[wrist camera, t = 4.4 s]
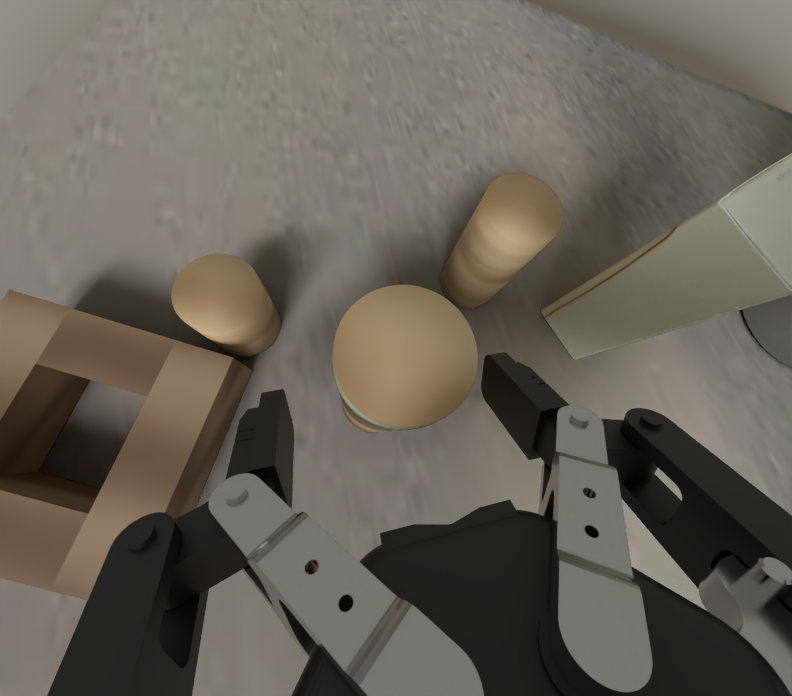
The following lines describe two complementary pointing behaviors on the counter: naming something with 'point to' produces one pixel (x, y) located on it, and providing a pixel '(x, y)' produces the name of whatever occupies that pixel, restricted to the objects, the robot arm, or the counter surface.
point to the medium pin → (501, 238)
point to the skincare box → (688, 270)
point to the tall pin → (403, 359)
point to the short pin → (226, 304)
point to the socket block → (140, 454)
